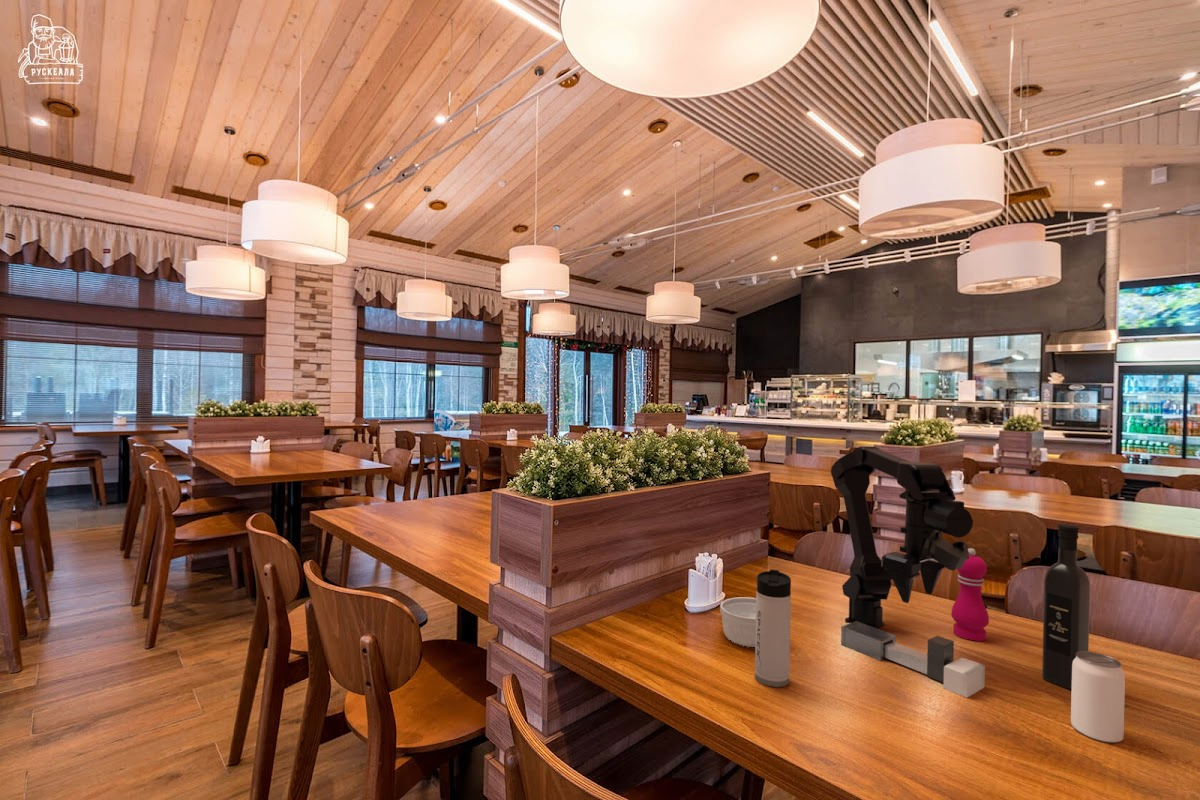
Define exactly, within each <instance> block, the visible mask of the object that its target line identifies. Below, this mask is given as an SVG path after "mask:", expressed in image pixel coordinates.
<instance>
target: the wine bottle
mask: <svg viewBox="0 0 1200 800" xmlns="http://www.w3.org/2000/svg"><path fill="white" fill-rule="evenodd" d="M1057 530H1058V531H1057V536H1058V550H1057V551H1058V553H1057V554H1058V556H1057V557H1058V558H1057V562H1056V563H1054V564H1052V565H1051V566H1050V567H1048V569H1047V571H1046V573H1045V576H1044V580H1043V581H1044V585H1043V586H1044V587H1043V588H1044V591H1043V621H1042V622H1043V625H1042V627H1043V629H1042V630H1043V632H1042V638H1043V639H1042V663H1041V664H1042V665H1041V666H1042V668H1041V669H1042V671H1041V674H1042V675H1041V677H1042V678H1043V679H1044V680H1045V681H1047V682H1050V683H1052V684H1055V685H1057V686H1060V687H1062V688H1065V689H1067V690H1070V689H1071V690H1070V691H1072V663H1073V660H1074V659H1075V658H1076V653H1077V652H1080V651H1088V652H1089V647H1090V646H1089V644H1090V643H1089V640H1090V639H1089V638H1090V606H1091V605H1090V602H1091V599H1090V595H1091V583H1090V582H1091V581H1090V578H1089V576H1088V574H1087V573H1086V571H1084V569H1083V568H1081V567H1080V566H1079V565H1078V560H1077V559H1078V539H1079V527H1078V526H1075V525H1073V524H1072V525H1070V524H1058V525H1057Z"/></svg>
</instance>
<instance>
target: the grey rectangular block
mask: <svg viewBox="0 0 1200 800" xmlns="http://www.w3.org/2000/svg"><path fill="white" fill-rule="evenodd" d="M985 673H986V665H984V664H982V663H979V662H976V661H974V660H970V659H969V658H964V657H963V656H962V657H960V658H957V659H956V660H953V662H951V663H949V664H948V665H946V666H944V683H943V689H945V690H946V689H947V691H949V692H950V693H951V692H952V693H953V694H956V695H959V696H962V697H964V698H966V699H967V698H969V697H971V696H972V695H974V694H977V693H978V692H980V691H981V690H982V689H984V688H985V685H986V684H985V681H986V680H985V678H986V677H985V675H986V674H985Z"/></svg>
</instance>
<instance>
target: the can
mask: <svg viewBox="0 0 1200 800" xmlns="http://www.w3.org/2000/svg"><path fill="white" fill-rule="evenodd" d="M1125 677H1126V676H1125V673H1124V670H1123V669H1122V662H1120V661H1119V660H1118V659H1116V658H1114V657H1111V656H1109V655H1105V654H1103V653H1097V652H1094V651H1089V650H1088V651H1080V652H1077V653H1076V658H1075V659H1074V660H1073V663H1072V690H1070V691H1071V696H1070V697H1071V699H1070V707H1071V708H1070V724H1071V726H1072V727H1073V728H1074V730H1076V732H1079V734H1082V735H1083V736H1085V737H1088V738H1089V739H1092V740H1095V741H1099V742H1103V743H1107V744H1108V743H1109V744H1116V743H1120V742H1122V741H1123V740H1124V731H1125V730H1124V729H1125V725H1124V724H1125V699H1126V698H1125V694H1126V693H1125V691H1126V690H1125V689H1126V685H1125V683H1126V678H1125Z"/></svg>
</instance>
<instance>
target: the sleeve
mask: <svg viewBox="0 0 1200 800" xmlns="http://www.w3.org/2000/svg"><path fill="white" fill-rule="evenodd" d="M840 630H841V631H840V632H841V636H840V646H843V647H846V648H848V649H851V650H853V651H855V652H858V653H861V654H863V655H865V656H868V657H869V658H872V659H873V658H874V659H875V660H877V661H881V662H882V661H883V660H884V657H883V647H884V643H885V642H888V641H892V642H895V643H896V634H893V633H890V632H887V631H884V630H881V629H879V628H878V627H876V628H874V627H871V626H868V625H866V624H863V623H860V622H857V621H855V622H852V623H849V622H848V623H847V624H845V625H841V627H840Z"/></svg>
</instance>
